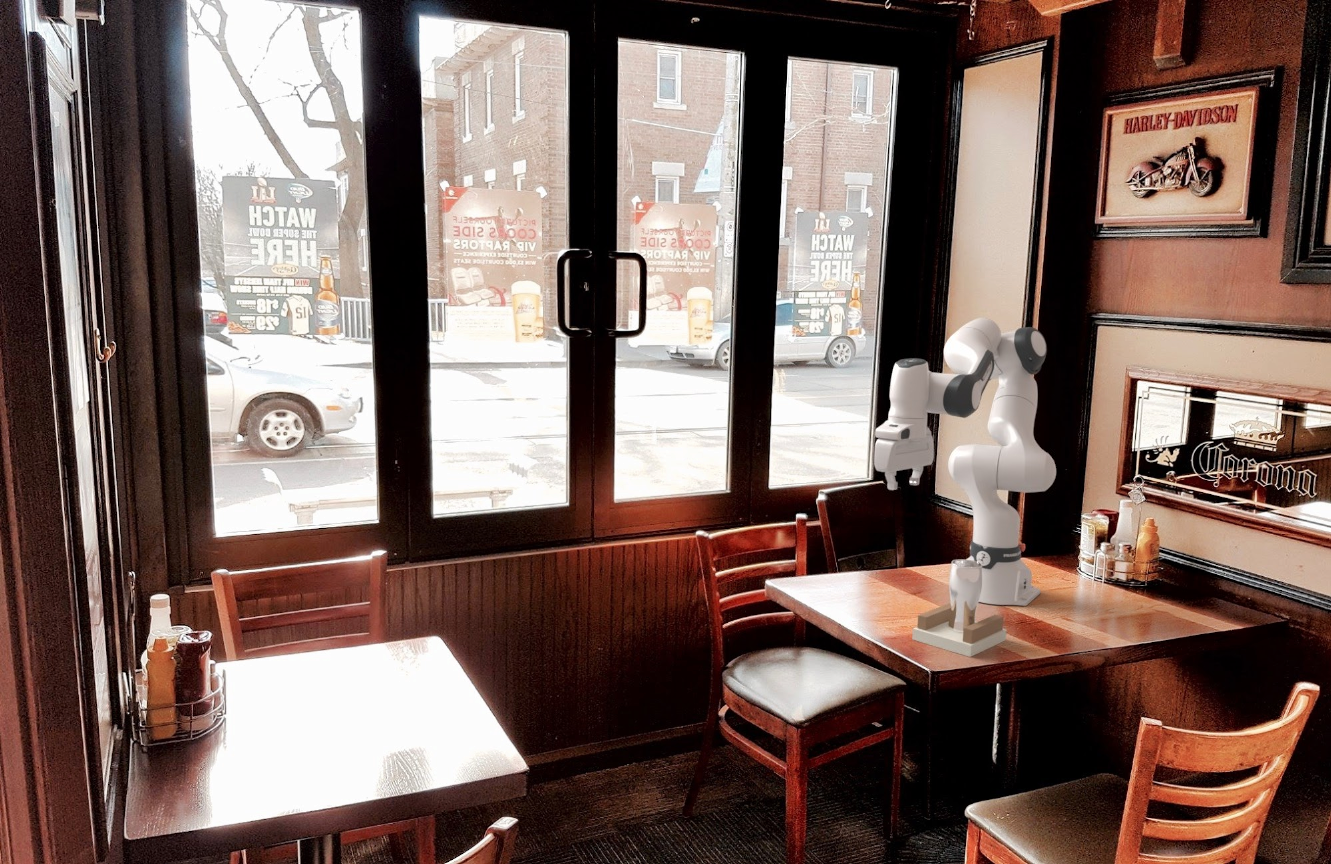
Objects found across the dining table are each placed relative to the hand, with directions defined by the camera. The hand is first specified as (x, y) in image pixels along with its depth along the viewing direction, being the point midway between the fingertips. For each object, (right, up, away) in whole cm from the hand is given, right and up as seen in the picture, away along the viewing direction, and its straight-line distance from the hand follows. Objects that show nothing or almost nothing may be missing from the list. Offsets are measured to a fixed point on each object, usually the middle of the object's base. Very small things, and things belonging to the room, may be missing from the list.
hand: (903, 487), depth 231 cm
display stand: (+10, -33, -12) cm, 37 cm away
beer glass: (+10, -31, -12) cm, 35 cm away
